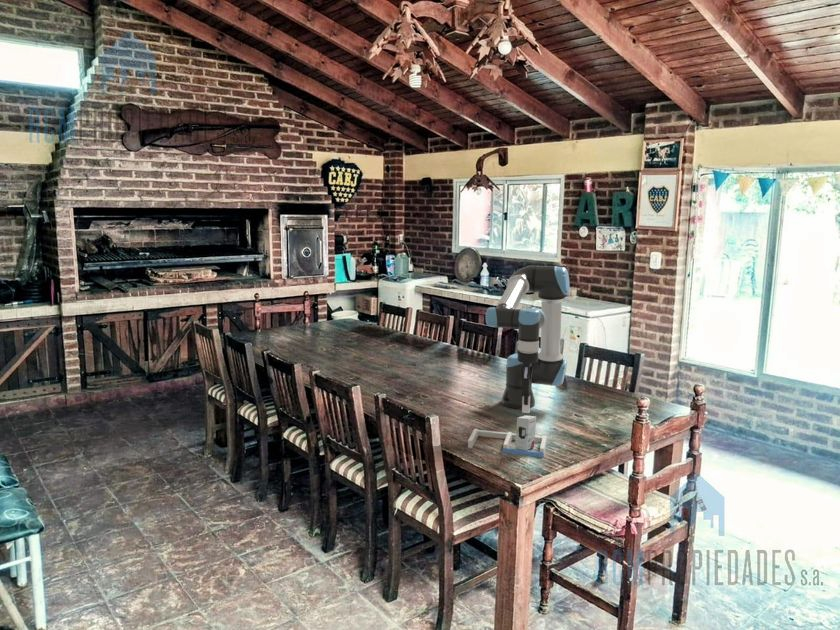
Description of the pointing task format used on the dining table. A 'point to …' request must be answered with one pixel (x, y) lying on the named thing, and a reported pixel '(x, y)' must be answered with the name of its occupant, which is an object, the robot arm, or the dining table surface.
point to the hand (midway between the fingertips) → (525, 412)
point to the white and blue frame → (508, 439)
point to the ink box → (525, 432)
